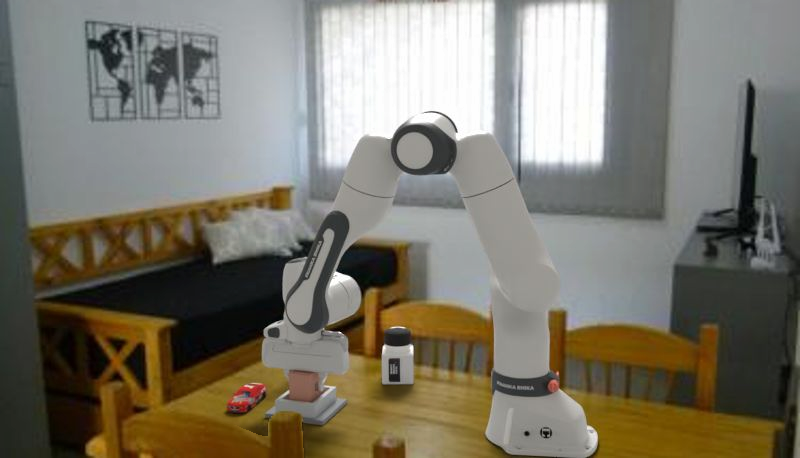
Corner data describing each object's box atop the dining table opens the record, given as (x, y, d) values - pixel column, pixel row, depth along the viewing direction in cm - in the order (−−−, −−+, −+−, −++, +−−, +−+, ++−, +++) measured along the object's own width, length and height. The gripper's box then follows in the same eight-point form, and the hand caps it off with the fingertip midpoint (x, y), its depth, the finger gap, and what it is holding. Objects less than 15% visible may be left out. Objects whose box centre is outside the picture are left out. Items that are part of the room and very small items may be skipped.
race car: (245, 417, 169) (244, 399, 168) (223, 414, 170) (222, 397, 170) (271, 395, 181) (270, 379, 181) (250, 393, 183) (249, 377, 182)
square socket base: (346, 403, 175) (346, 386, 174) (323, 425, 163) (322, 407, 162) (292, 396, 180) (291, 380, 179) (265, 417, 167) (264, 400, 167)
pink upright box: (323, 395, 173) (322, 366, 172) (310, 406, 167) (309, 376, 166) (303, 393, 175) (302, 364, 174) (289, 404, 168) (288, 373, 167)
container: (413, 384, 186) (413, 333, 184) (382, 384, 187) (381, 333, 185) (413, 373, 194) (413, 324, 192) (383, 374, 194) (382, 324, 192)
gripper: (353, 328, 168) (354, 388, 170) (270, 321, 175) (273, 379, 177) (341, 336, 162) (343, 398, 164) (256, 329, 169) (259, 388, 171)
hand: (306, 388), depth 170 cm, fingers closed on pink upright box, 5 cm apart
